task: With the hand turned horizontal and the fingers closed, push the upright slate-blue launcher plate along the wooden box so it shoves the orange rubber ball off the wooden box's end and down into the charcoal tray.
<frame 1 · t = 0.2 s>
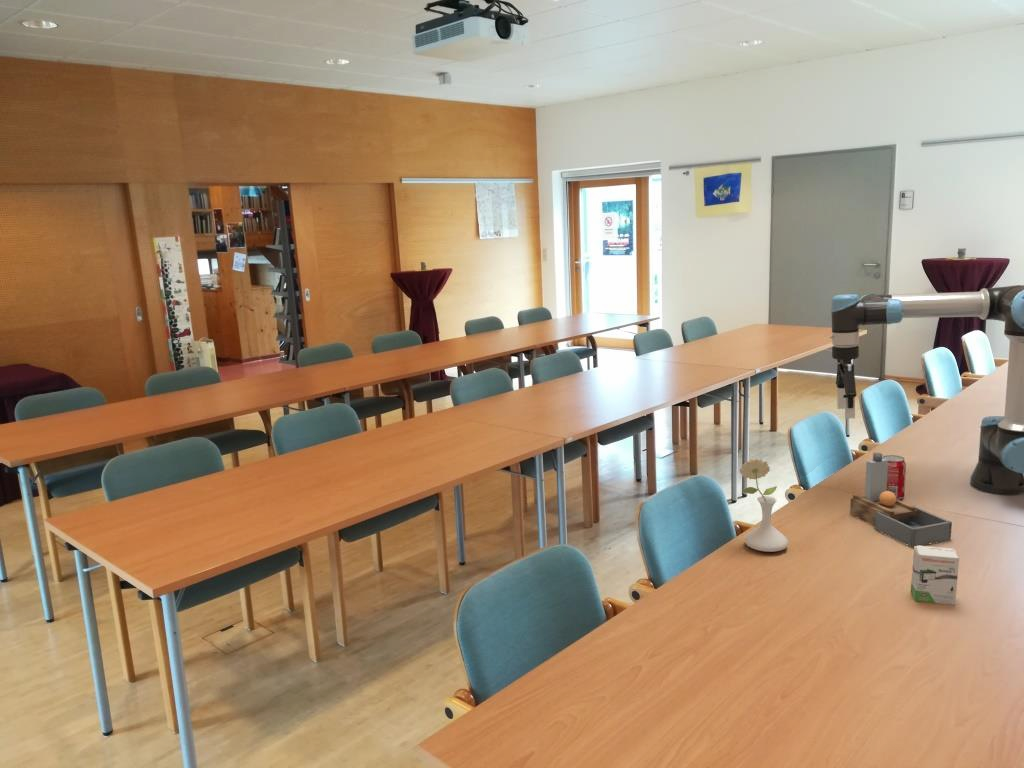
hand: (846, 413, 235), 27 cm above the table, tool pointing down, fingers open, 13 cm apart
ball: (887, 498, 218), point 7 cm above the table, touching wooden box
ink box: (932, 599, 176), on the table
soda can: (891, 498, 238), on the table
plunger: (876, 476, 221), point 12 cm above the table, slide at 0.0 cm
tray: (911, 534, 211), on the table
flower in vase: (762, 547, 208), on the table
wooden box: (886, 522, 219), on the table
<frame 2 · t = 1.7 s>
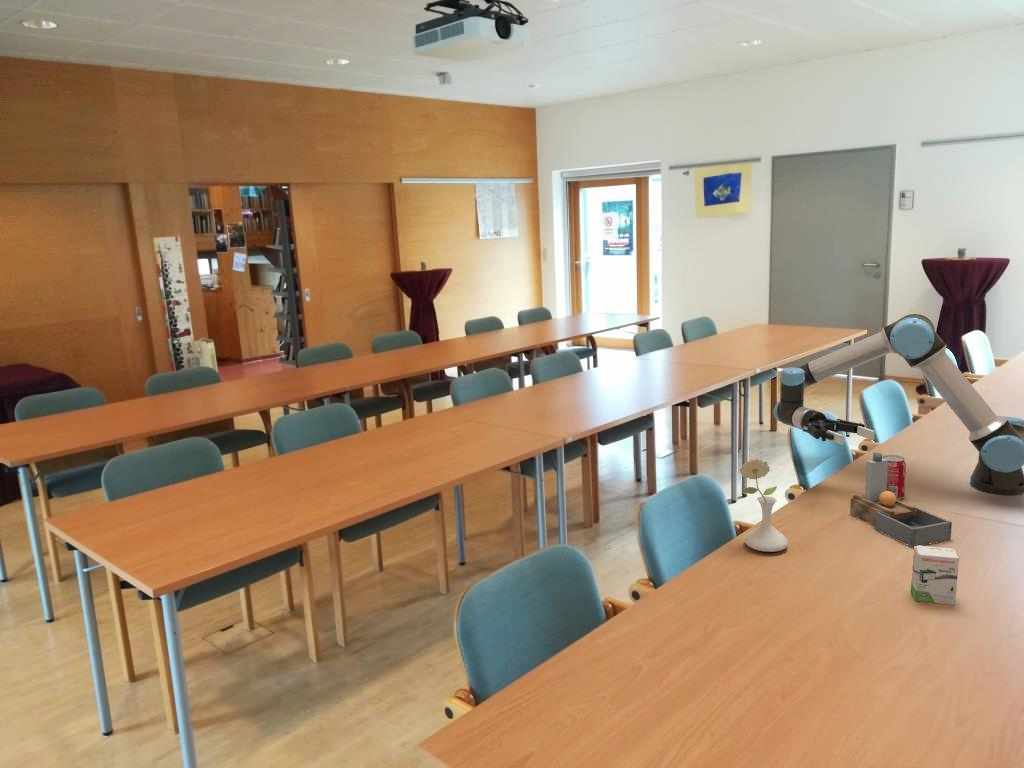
hand: (858, 437, 227), 22 cm above the table, tool horizontal, fingers open, 10 cm apart
nothing on the table moved.
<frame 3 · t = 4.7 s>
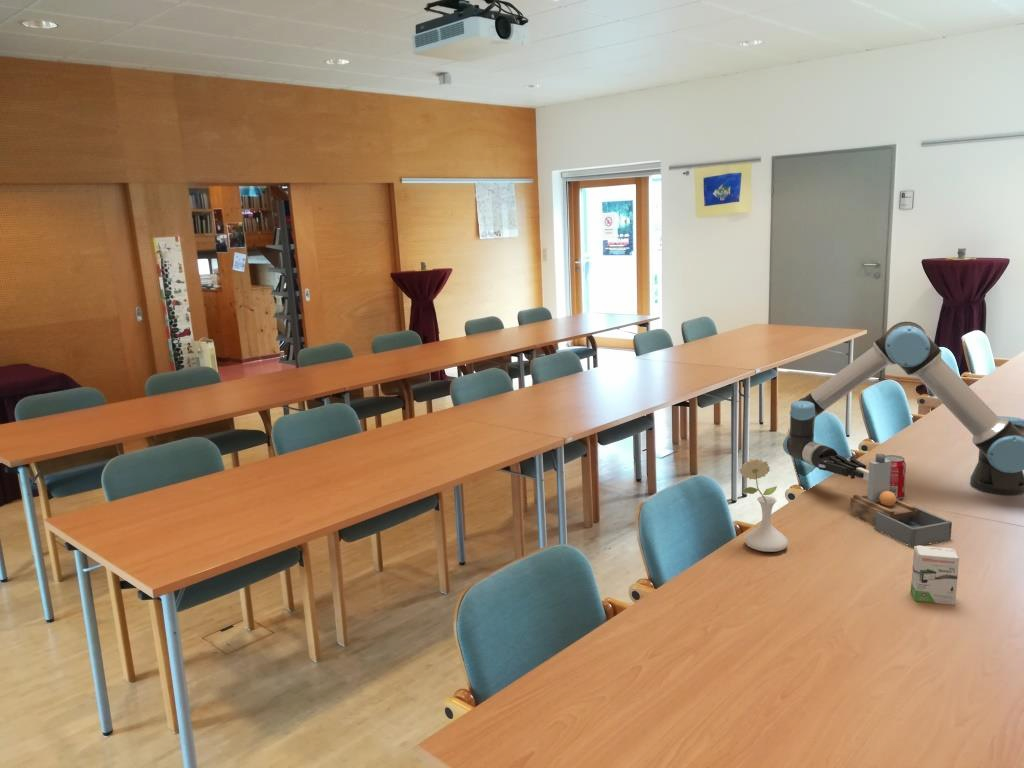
hand: (873, 478, 221), 12 cm above the table, tool horizontal, fingers closed
plunger: (879, 478, 220), point 12 cm above the table, slide at 1.1 cm, touching gripper
everything else where it was.
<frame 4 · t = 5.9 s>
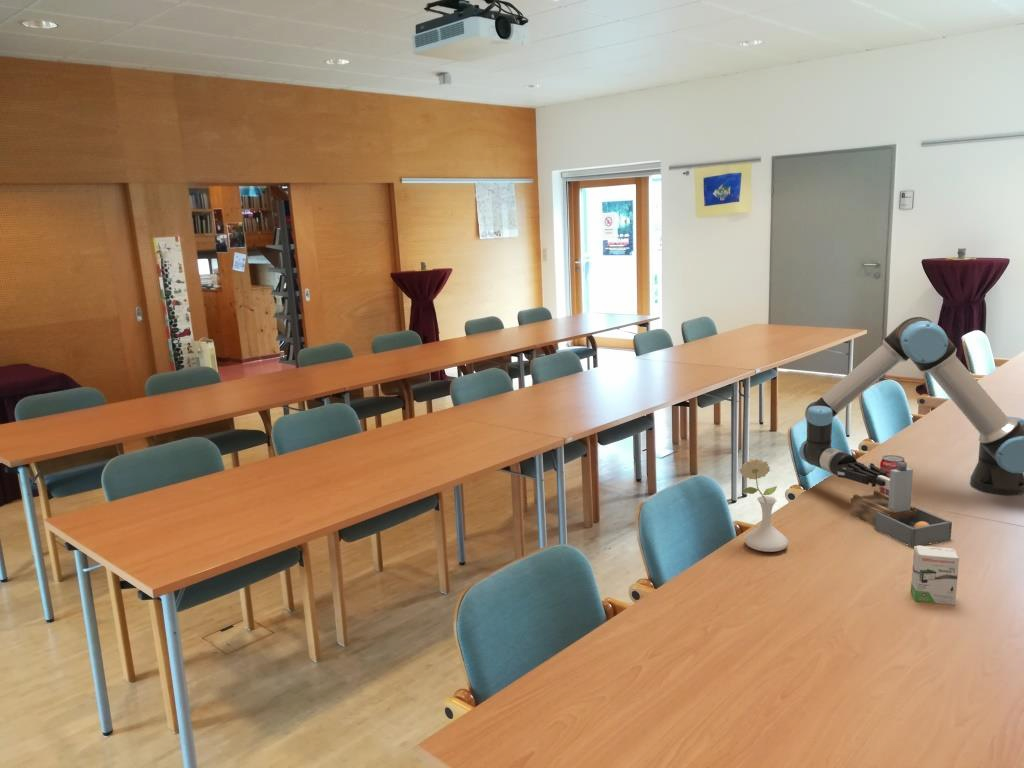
hand: (895, 486, 214), 12 cm above the table, tool horizontal, fingers closed
ball: (922, 529, 207), point 3 cm above the table, tilted 7°, touching tray
plunger: (900, 486, 213), point 12 cm above the table, slide at 9.2 cm, touching gripper
everything else where it was.
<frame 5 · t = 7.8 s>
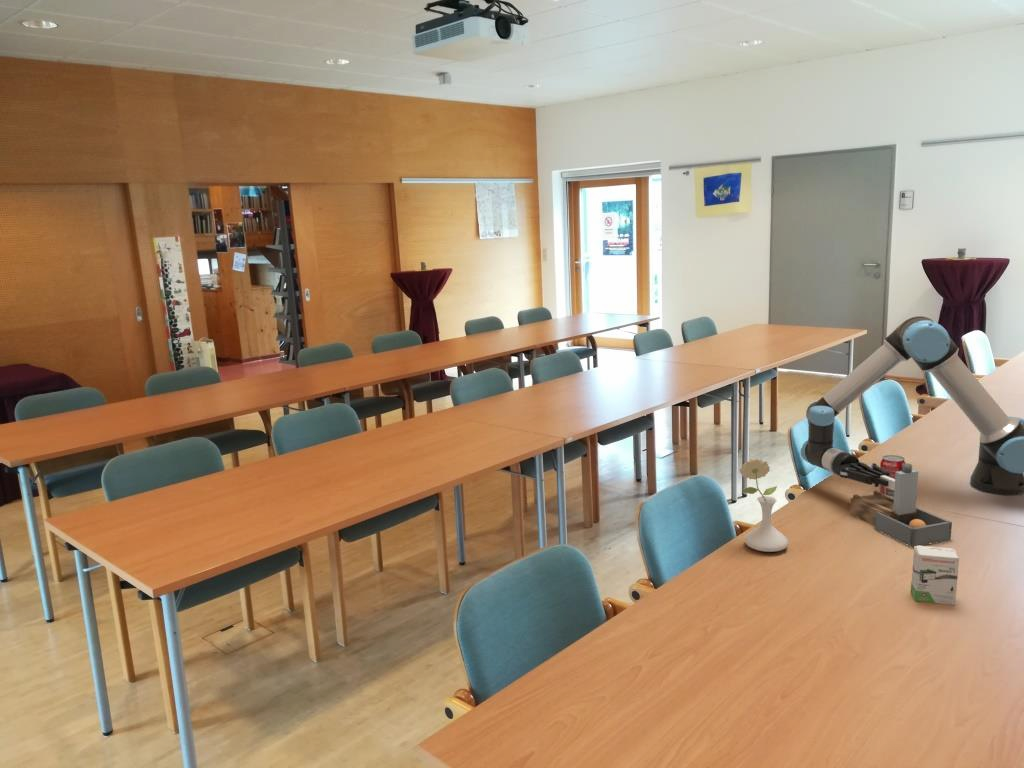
hand: (899, 486, 213), 12 cm above the table, tool horizontal, fingers closed
ball: (917, 527, 208), point 3 cm above the table, tilted 40°, touching tray
plunger: (905, 488, 211), point 12 cm above the table, slide at 11.1 cm
everything else where it was.
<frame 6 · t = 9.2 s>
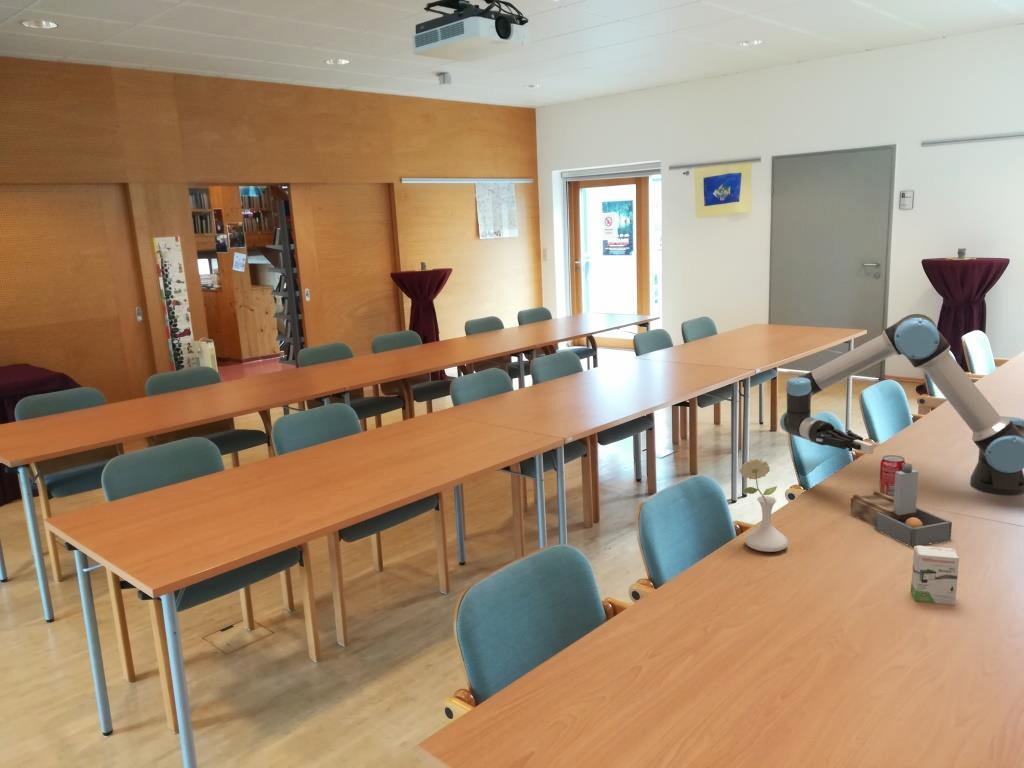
hand: (871, 449, 222), 20 cm above the table, tool horizontal, fingers closed
ball: (913, 525, 210), point 3 cm above the table, tilted 75°, touching tray
everything else where it was.
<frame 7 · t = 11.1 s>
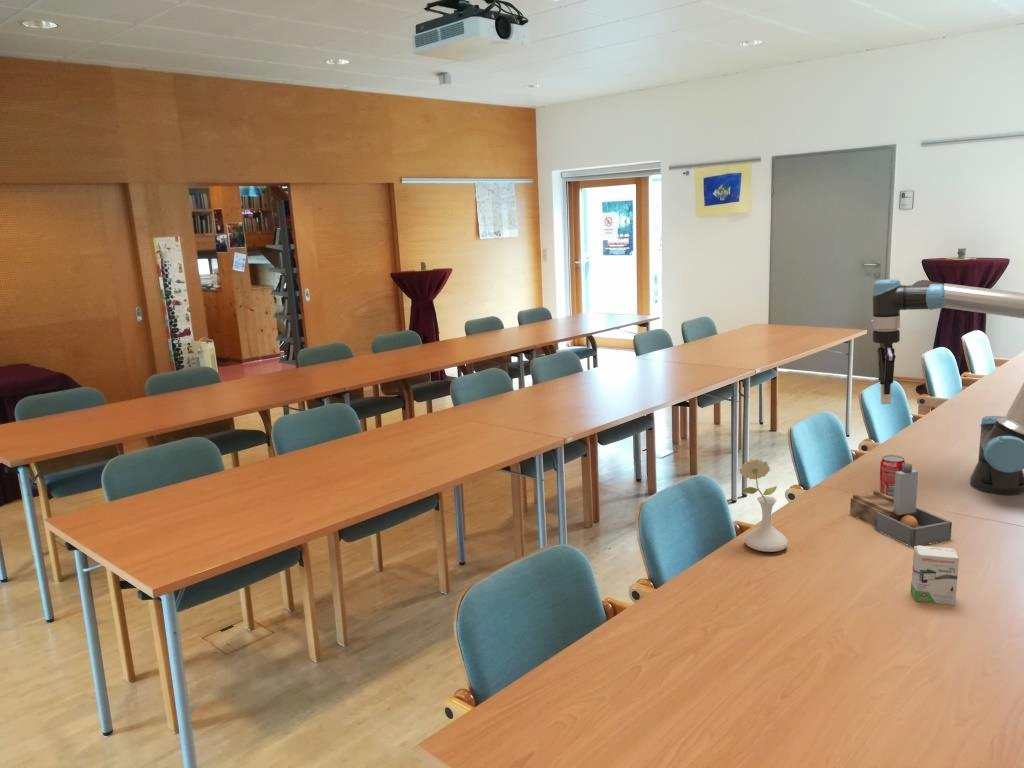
hand: (885, 403, 240), 28 cm above the table, tool pointing down, fingers closed
ball: (908, 523, 211), point 3 cm above the table, tilted 122°, touching tray
everything else where it was.
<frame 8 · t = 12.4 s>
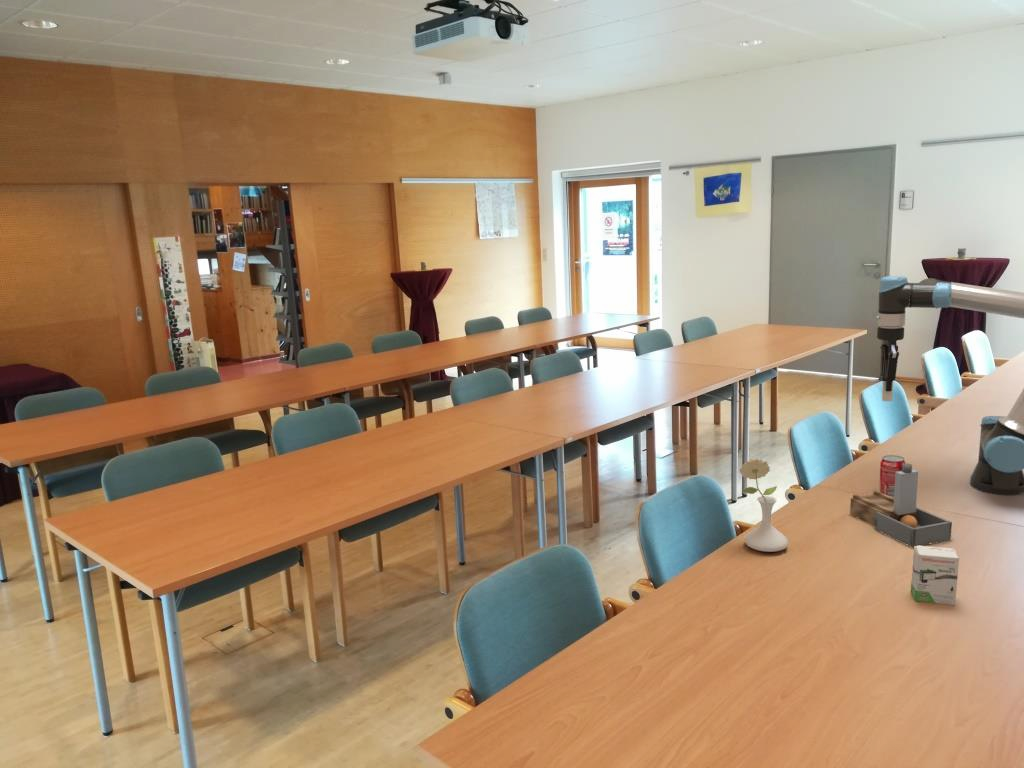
hand: (886, 400, 240), 29 cm above the table, tool pointing down, fingers closed
ball: (908, 522, 211), point 3 cm above the table, tilted 124°, touching wooden box, tray
everything else where it was.
at the end: ball 1.5 cm from the tray (horizontally); ball point 2.8 cm above the table; plunger slide at 11.1 cm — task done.
